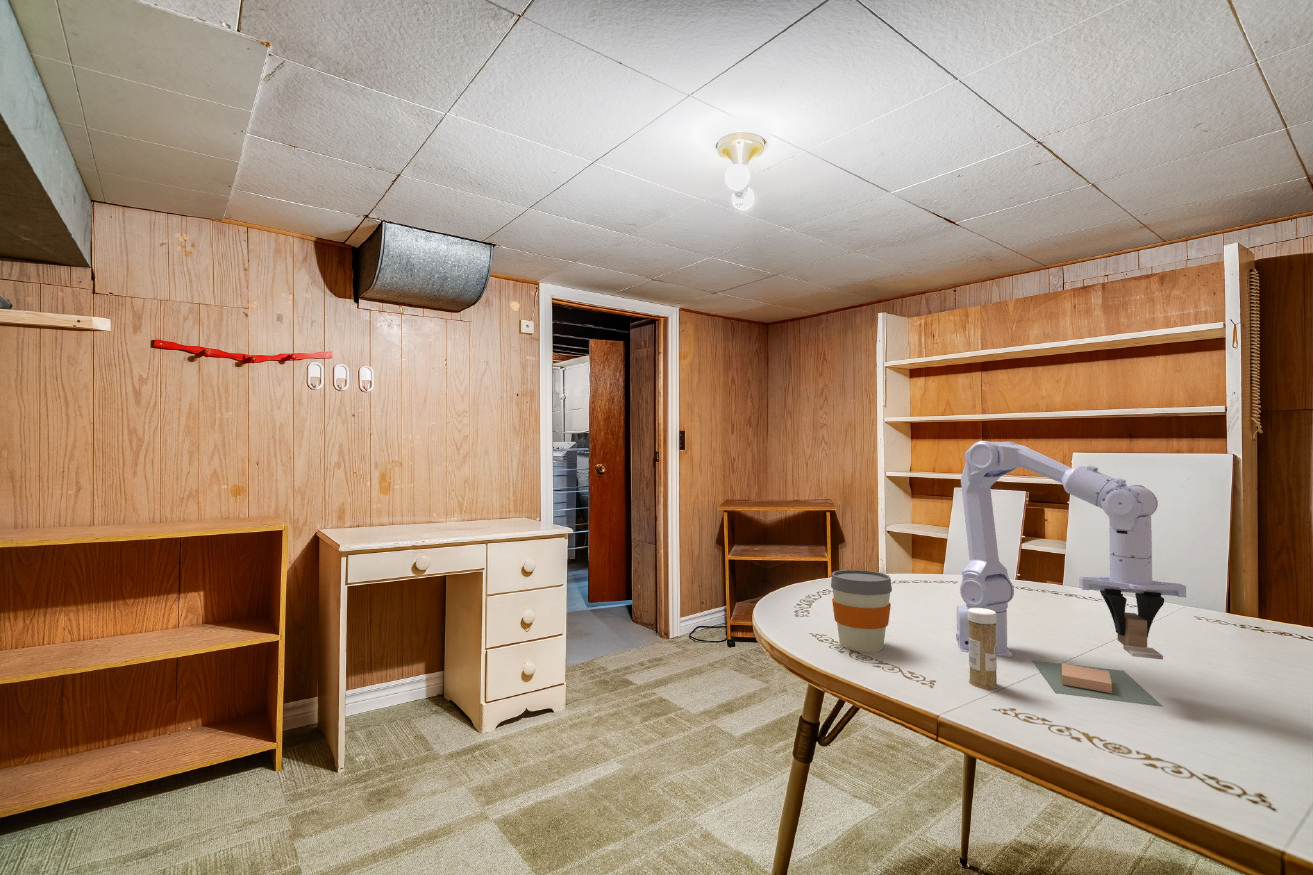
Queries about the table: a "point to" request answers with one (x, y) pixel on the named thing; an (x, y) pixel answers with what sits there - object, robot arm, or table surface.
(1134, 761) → the table surface
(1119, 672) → the mat
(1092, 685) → the tile
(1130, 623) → the two-tone block stack
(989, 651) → the sprinkles bottle
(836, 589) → the reusable coffee cup
